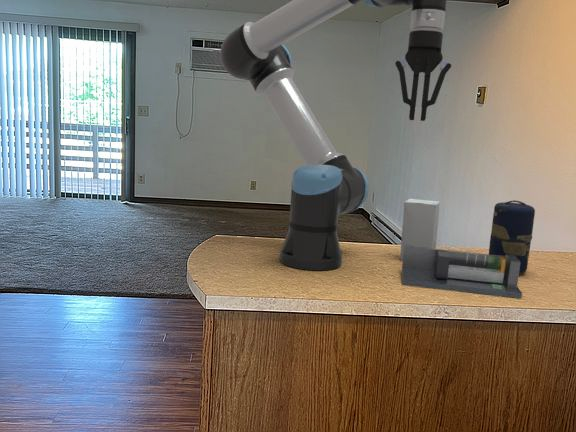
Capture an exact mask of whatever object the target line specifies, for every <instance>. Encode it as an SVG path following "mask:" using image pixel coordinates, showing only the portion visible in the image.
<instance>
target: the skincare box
mask: <svg viewBox="0 0 576 432" xmlns="http://www.w3.org/2000/svg"><path fill="white" fill-rule="evenodd" d="M440 202H441V201H438V200H427V199H418V198H417V199H416V198H408V199H407V200H405V201H404V203H403V214H402V215H403V217H402V229H401V230H402V231H401V242H400V243H401V244H400V255H399V259H400V260H403V254H404V246H414V247H424V248H433V249H437V239H438V238H437V237H438V229H439V228H438V227H439V215H440V204H441V203H440Z"/></svg>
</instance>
